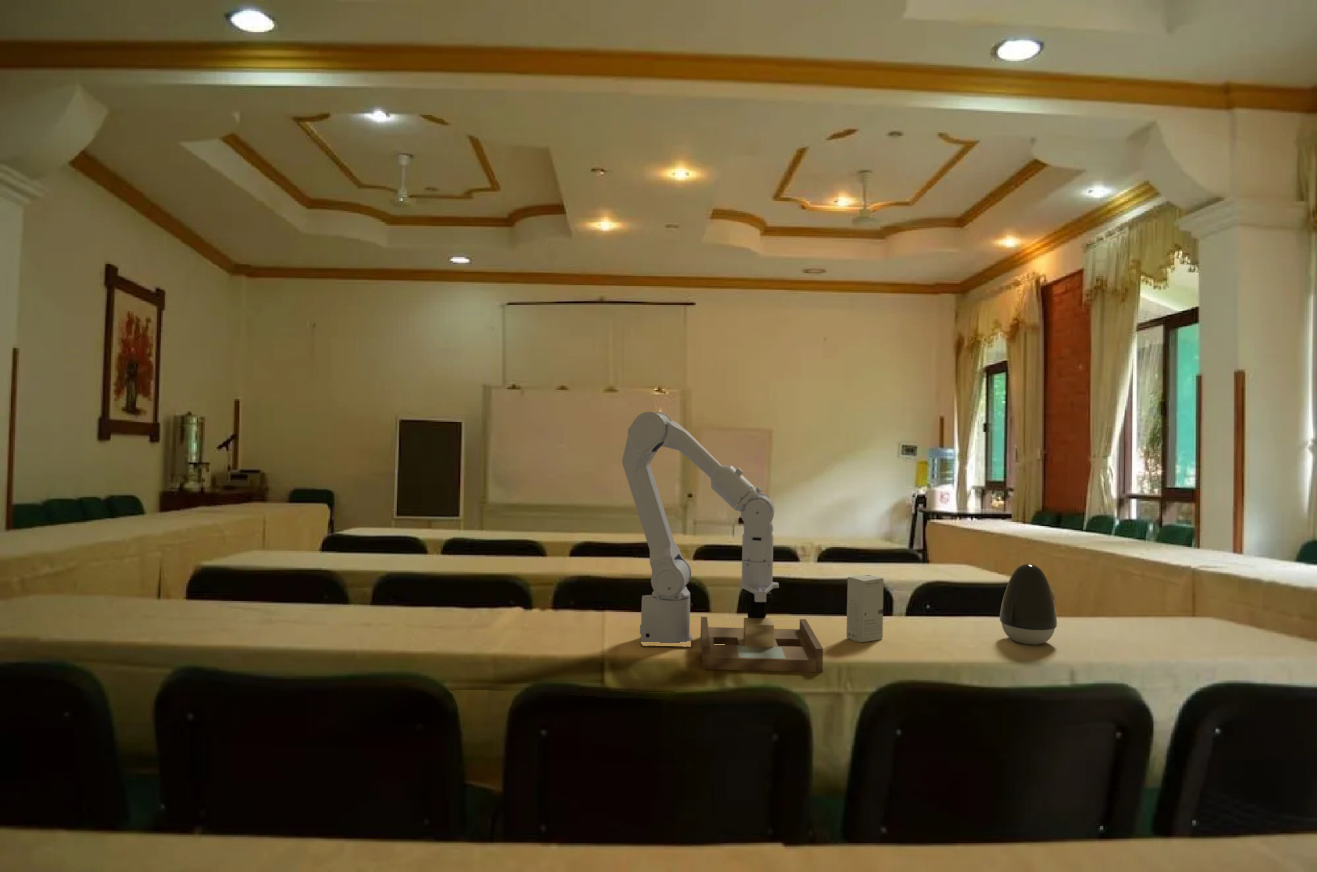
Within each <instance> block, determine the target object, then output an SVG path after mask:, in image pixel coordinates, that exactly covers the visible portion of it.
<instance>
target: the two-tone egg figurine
mask: <svg viewBox="0 0 1317 872" xmlns="http://www.w3.org/2000/svg"><path fill="white" fill-rule="evenodd" d="M999 621H1000V622H1001V626H1002V629H1003V632H1004V634H1005V635H1006V636H1007V637H1008V638H1009V639H1011V640H1013V641H1014V642H1015V643H1019V644H1023V645H1033V646H1035V645H1037V646H1038V645H1041V644H1045V643H1046V642H1048V641H1049V640H1051V638H1052V637H1053V635H1054V633H1055V630H1056V628H1057V627H1058V617H1057V611H1056V605H1055V601H1054V597H1053V592H1052V589H1051V586H1050V583H1049V580H1048V578H1047V576H1046V574H1045V573H1044V571H1043V570H1042V569H1041V568H1040V567H1038V565H1035V564H1032V563H1026V564H1025V563H1024V564H1021V565H1019V566H1018V567H1016V569H1015V570H1014V571H1013V573H1011V576H1010V578H1009V580H1008V583H1007V585H1006V589H1005V591H1004V594H1003V598H1002V602H1001V607H1000V612H999Z"/></svg>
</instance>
